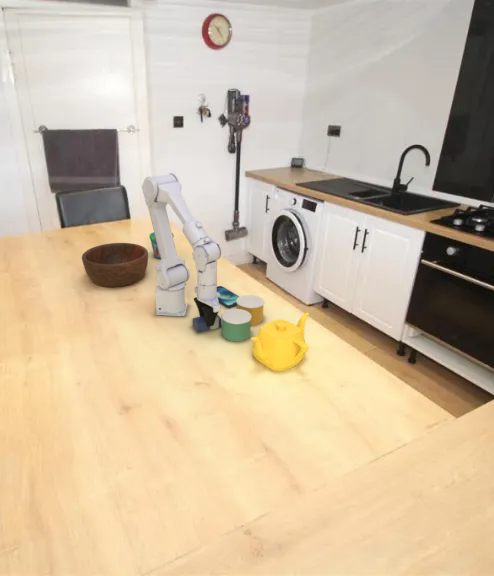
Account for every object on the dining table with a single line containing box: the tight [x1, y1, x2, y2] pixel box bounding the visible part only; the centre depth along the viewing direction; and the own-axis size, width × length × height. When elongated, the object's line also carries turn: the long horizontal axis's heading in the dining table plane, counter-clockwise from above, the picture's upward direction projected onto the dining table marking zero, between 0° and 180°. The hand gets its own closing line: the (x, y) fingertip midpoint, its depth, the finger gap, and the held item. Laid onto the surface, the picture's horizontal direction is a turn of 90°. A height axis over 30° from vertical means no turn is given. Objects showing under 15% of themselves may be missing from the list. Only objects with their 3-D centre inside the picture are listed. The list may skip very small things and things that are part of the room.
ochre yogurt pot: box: [236, 294, 265, 326], centre depth 130 cm, size 9×9×6 cm
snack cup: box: [148, 231, 175, 259], centre depth 181 cm, size 16×10×10 cm
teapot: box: [250, 312, 310, 372], centre depth 109 cm, size 22×16×11 cm
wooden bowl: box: [81, 242, 149, 288], centre depth 159 cm, size 25×25×10 cm
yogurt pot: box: [221, 308, 251, 343], centre depth 122 cm, size 9×9×6 cm
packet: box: [192, 314, 222, 333], centre depth 126 cm, size 8×4×3 cm, turn 114°
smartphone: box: [217, 285, 240, 308], centre depth 145 cm, size 8×1×15 cm
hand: (207, 322), depth 126 cm, fingers closed on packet, 4 cm apart
